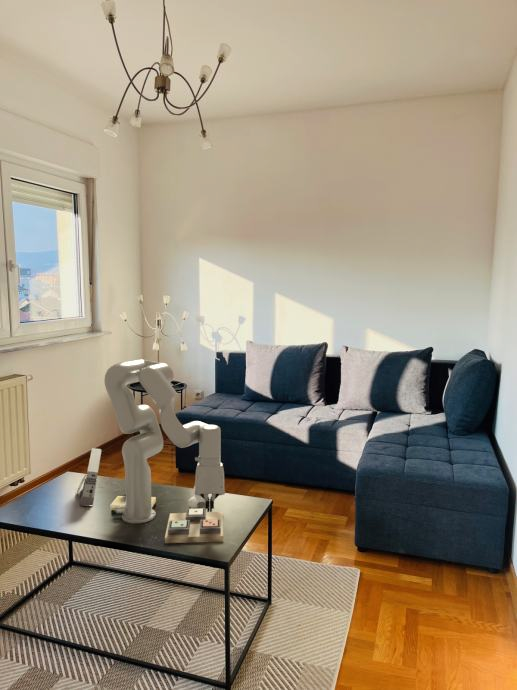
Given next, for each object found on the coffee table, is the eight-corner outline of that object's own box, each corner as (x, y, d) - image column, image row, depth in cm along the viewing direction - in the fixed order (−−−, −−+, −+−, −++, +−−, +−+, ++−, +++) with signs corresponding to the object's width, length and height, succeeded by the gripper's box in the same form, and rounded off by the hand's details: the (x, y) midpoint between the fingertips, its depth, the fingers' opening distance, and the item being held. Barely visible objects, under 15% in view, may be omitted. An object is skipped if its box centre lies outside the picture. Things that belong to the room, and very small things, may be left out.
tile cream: (188, 519, 196) (188, 514, 196) (189, 513, 202) (189, 508, 201) (202, 519, 197) (202, 513, 197) (203, 513, 202) (203, 508, 202)
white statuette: (210, 480, 219) (196, 493, 208) (211, 499, 221) (198, 513, 210) (197, 478, 221) (182, 491, 210) (198, 497, 223) (183, 511, 212)
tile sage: (171, 532, 186) (171, 526, 186) (172, 526, 191) (172, 520, 191) (186, 532, 186) (186, 526, 186) (187, 525, 192) (186, 519, 191)
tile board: (164, 543, 183) (164, 532, 183) (170, 518, 203) (169, 508, 203) (223, 541, 185) (223, 530, 184) (222, 516, 205) (222, 506, 204)
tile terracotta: (202, 531, 187) (202, 525, 187) (203, 525, 192) (203, 519, 192) (217, 531, 187) (217, 525, 187) (217, 524, 192) (217, 519, 192)
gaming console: (76, 489, 232) (85, 444, 231) (94, 491, 234) (103, 447, 233) (71, 510, 210) (81, 461, 209) (91, 512, 212) (100, 464, 211)
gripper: (187, 464, 183) (187, 515, 185) (231, 463, 184) (230, 514, 186) (189, 457, 190) (189, 506, 192) (230, 456, 191) (230, 505, 194)
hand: (209, 510), depth 189 cm, fingers closed
